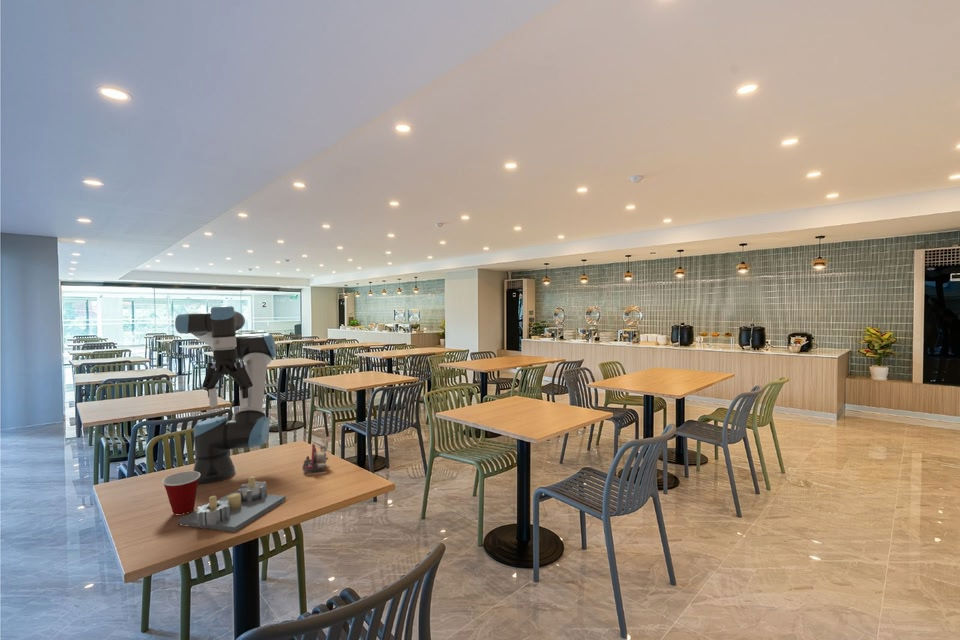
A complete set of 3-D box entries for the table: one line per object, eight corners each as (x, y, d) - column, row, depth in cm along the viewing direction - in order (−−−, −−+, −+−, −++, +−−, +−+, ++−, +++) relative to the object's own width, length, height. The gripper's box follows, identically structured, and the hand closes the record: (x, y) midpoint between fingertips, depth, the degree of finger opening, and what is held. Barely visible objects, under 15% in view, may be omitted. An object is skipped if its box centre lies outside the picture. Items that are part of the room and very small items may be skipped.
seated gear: (232, 501, 153) (232, 490, 153) (251, 491, 161) (250, 480, 161) (254, 503, 151) (253, 491, 150) (272, 493, 159) (271, 482, 158)
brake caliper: (299, 461, 188) (316, 437, 189) (322, 474, 190) (339, 450, 192) (294, 471, 177) (312, 445, 178) (318, 484, 179) (336, 459, 180)
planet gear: (189, 524, 137) (188, 512, 137) (214, 510, 146) (213, 498, 146) (213, 527, 135) (212, 514, 135) (238, 513, 144) (237, 501, 144)
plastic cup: (172, 522, 143) (170, 485, 142) (158, 514, 149) (156, 479, 148) (208, 508, 152) (206, 473, 151) (194, 502, 158) (191, 468, 157)
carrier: (178, 525, 141) (176, 498, 140) (234, 495, 162) (232, 472, 161) (235, 532, 135) (233, 504, 134) (285, 500, 156) (284, 476, 155)
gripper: (188, 350, 162) (192, 408, 163) (245, 349, 155) (248, 410, 156) (206, 348, 169) (210, 403, 170) (261, 347, 162) (264, 405, 163)
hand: (228, 407), depth 163 cm, fingers open, 13 cm apart
